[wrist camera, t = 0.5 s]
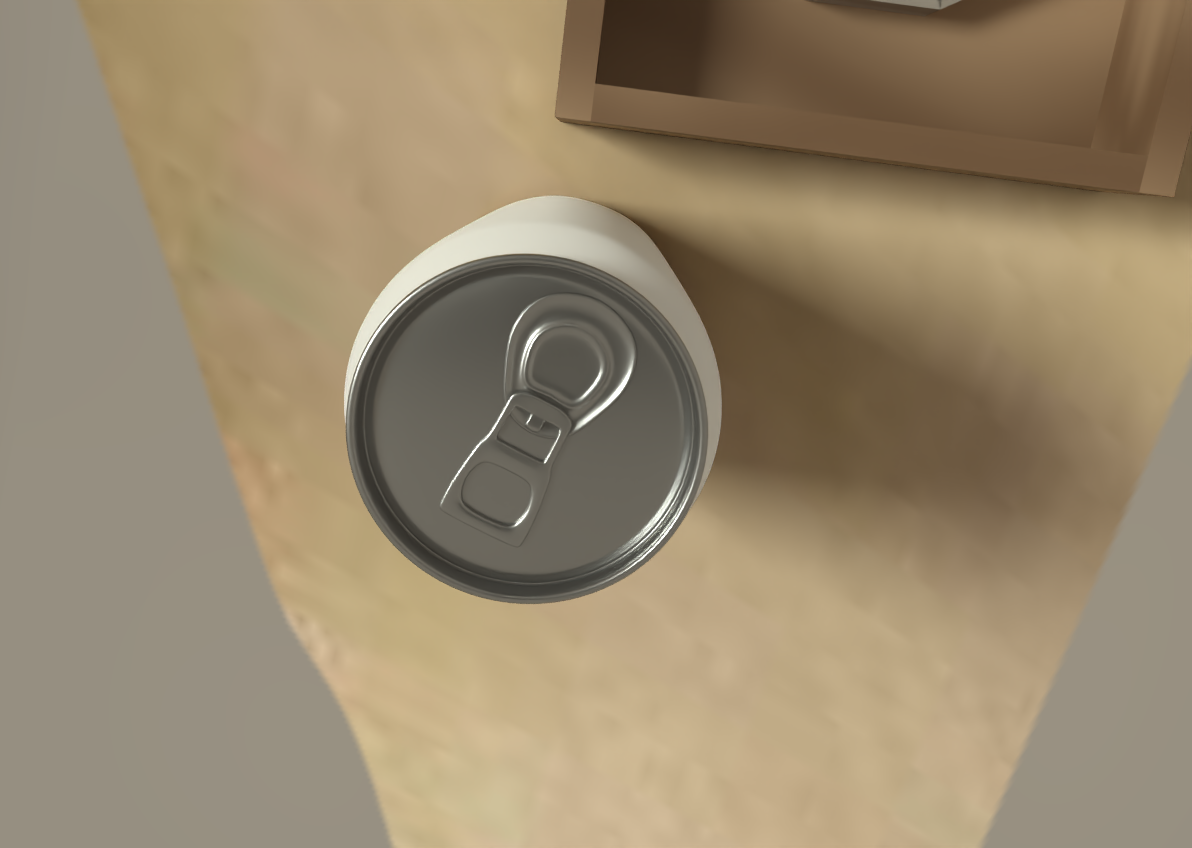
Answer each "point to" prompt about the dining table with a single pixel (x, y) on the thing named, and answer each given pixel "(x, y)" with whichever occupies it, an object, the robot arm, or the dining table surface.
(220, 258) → the dining table surface
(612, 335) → the can
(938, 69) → the walled box
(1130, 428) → the dining table surface
